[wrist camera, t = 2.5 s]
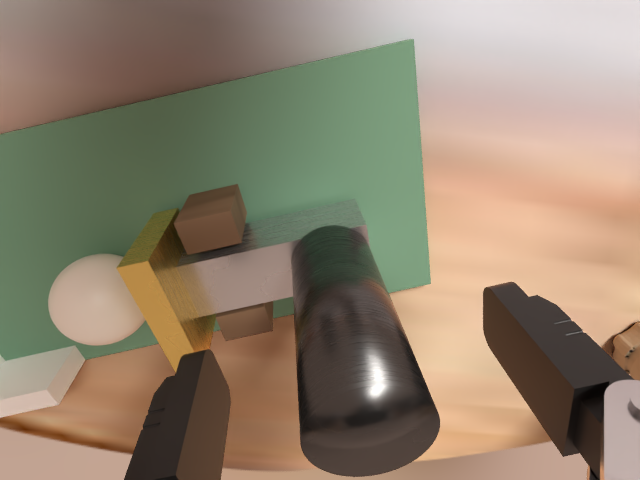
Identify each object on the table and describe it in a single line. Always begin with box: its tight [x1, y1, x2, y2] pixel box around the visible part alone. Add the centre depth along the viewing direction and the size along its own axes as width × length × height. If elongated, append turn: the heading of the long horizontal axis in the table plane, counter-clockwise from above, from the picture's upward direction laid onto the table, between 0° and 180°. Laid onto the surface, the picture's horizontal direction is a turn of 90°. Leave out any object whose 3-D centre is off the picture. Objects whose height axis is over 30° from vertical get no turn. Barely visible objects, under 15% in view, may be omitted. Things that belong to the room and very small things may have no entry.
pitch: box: [0, 39, 431, 361], centre depth 16 cm, size 11×22×1 cm, turn 101°
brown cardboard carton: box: [174, 184, 273, 341], centre depth 16 cm, size 6×2×3 cm, turn 11°
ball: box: [48, 254, 145, 346], centre depth 15 cm, size 4×4×4 cm
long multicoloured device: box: [117, 199, 440, 477], centre depth 12 cm, size 8×5×9 cm, turn 101°
